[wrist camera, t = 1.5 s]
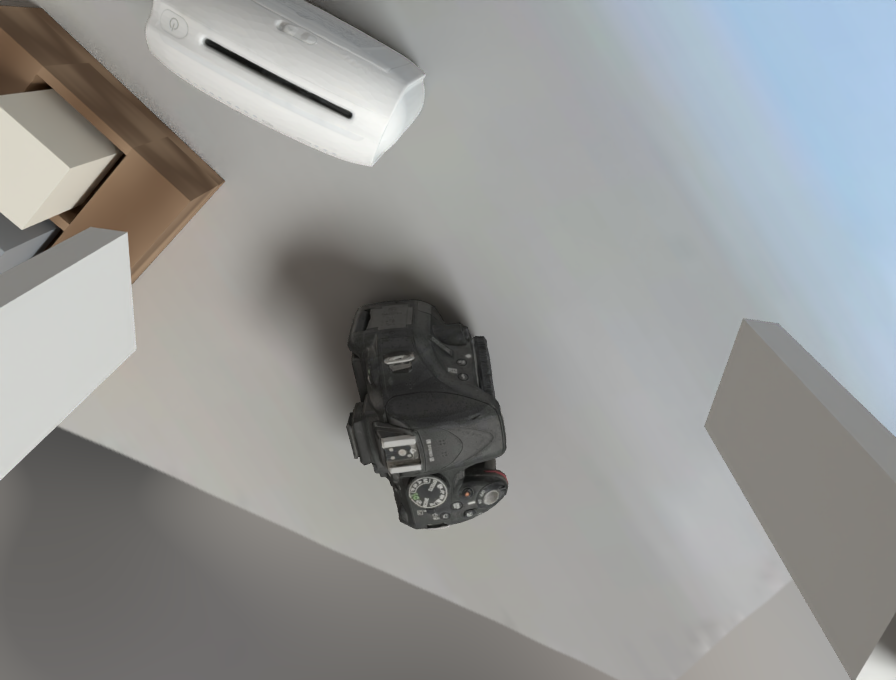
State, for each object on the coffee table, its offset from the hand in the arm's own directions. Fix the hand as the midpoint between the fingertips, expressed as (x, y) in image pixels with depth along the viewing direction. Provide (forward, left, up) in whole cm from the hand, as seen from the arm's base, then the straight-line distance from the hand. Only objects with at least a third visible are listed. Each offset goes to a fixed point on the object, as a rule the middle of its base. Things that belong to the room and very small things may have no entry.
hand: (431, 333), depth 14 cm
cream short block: (-14, -14, -20) cm, 28 cm away
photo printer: (-8, -2, -24) cm, 26 cm away
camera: (+9, -11, -24) cm, 28 cm away
